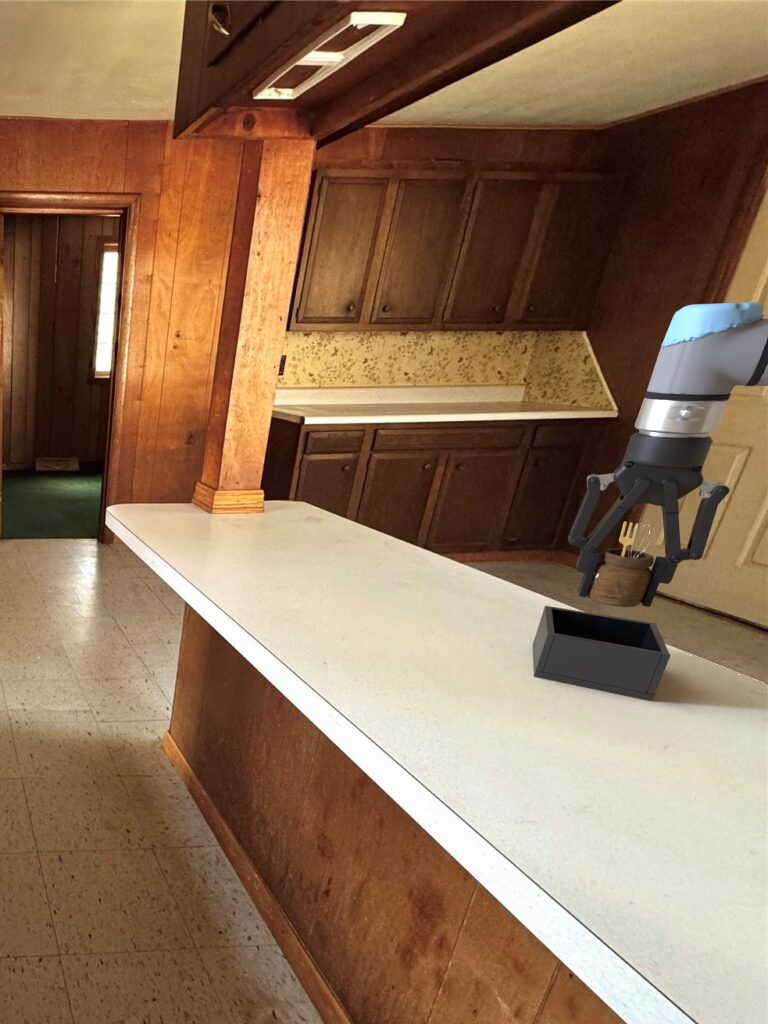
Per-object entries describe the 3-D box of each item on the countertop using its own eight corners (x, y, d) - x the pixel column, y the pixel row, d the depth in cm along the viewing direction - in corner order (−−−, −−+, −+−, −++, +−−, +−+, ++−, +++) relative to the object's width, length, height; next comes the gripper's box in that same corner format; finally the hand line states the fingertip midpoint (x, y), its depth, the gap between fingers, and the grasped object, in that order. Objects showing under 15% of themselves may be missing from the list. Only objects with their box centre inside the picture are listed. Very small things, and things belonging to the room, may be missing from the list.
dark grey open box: (639, 665, 99) (656, 623, 97) (652, 701, 90) (670, 655, 88) (532, 645, 107) (545, 605, 104) (533, 676, 97) (547, 633, 95)
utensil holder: (648, 602, 93) (679, 520, 89) (629, 612, 90) (660, 527, 86) (595, 589, 98) (623, 511, 93) (575, 598, 95) (603, 517, 91)
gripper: (577, 432, 88) (528, 593, 97) (791, 442, 77) (714, 622, 86) (574, 425, 93) (527, 578, 102) (773, 433, 83) (702, 603, 91)
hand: (612, 598), depth 94 cm, fingers closed on utensil holder, 6 cm apart
